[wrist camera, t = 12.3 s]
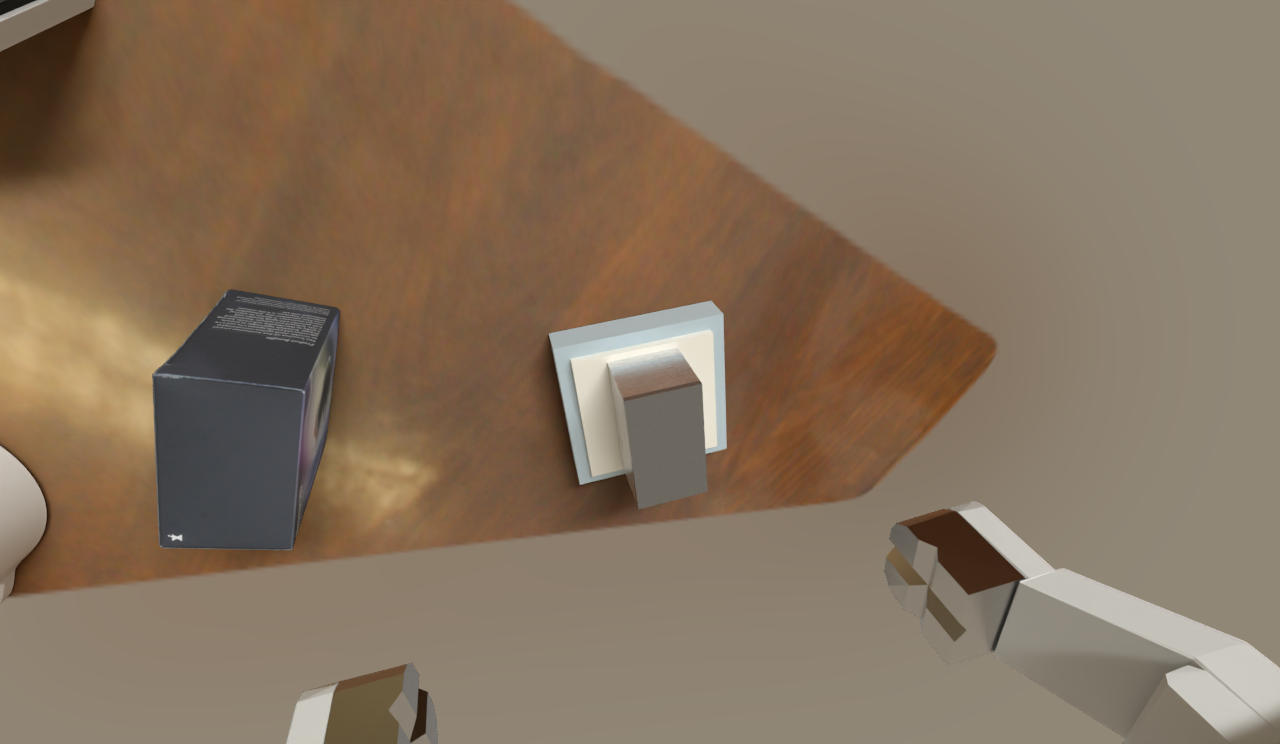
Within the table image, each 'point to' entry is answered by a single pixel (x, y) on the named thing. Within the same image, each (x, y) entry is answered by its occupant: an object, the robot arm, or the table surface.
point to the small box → (243, 423)
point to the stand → (597, 344)
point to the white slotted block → (34, 17)
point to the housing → (659, 426)
